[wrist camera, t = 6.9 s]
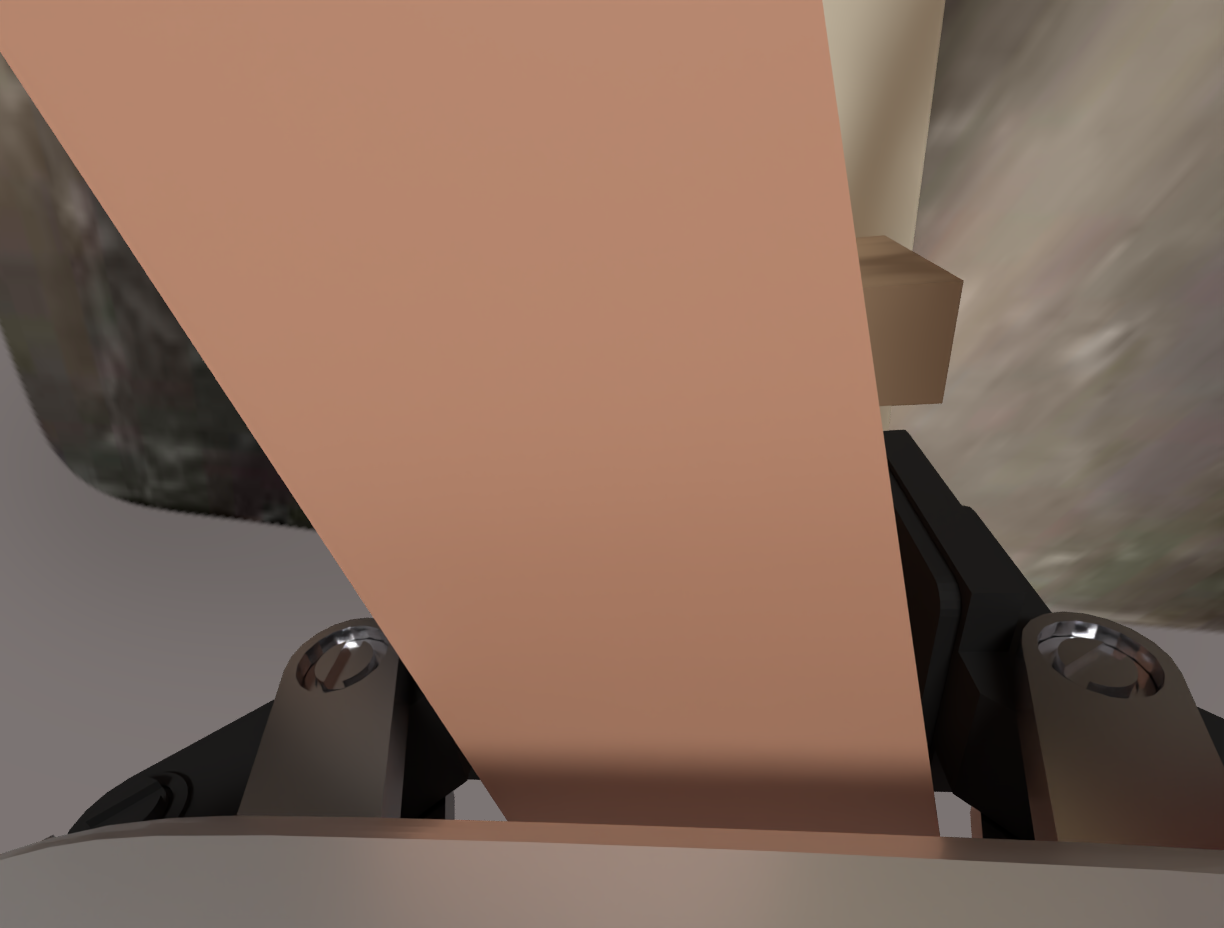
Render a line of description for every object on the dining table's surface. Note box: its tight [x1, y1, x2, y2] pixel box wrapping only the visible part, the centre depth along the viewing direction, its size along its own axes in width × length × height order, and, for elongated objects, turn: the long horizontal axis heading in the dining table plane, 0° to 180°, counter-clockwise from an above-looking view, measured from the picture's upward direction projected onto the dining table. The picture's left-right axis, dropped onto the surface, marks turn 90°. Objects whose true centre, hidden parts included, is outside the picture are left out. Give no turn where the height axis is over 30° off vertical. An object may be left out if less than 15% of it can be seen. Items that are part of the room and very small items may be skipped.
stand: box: [822, 0, 963, 431], centre depth 21 cm, size 16×19×8 cm
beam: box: [0, 0, 940, 837], centre depth 9 cm, size 4×18×6 cm, turn 18°
